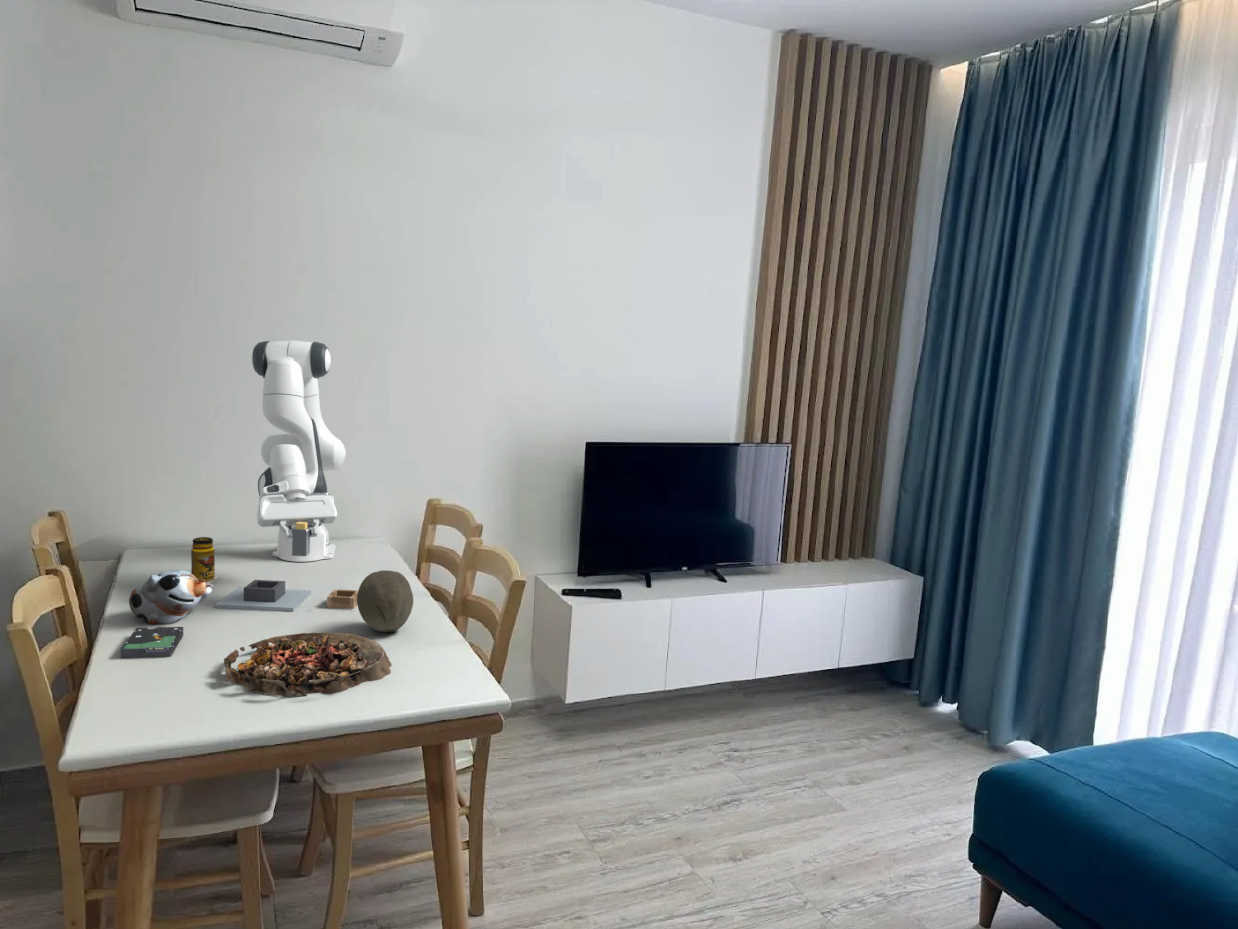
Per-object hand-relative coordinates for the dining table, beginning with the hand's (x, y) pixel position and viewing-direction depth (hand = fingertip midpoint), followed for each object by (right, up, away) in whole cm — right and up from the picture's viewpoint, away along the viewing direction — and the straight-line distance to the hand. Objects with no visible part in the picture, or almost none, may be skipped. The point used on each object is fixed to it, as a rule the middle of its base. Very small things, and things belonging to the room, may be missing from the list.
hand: (301, 536), depth 245 cm
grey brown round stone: (+25, -23, -12) cm, 36 cm away
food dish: (+16, -27, -40) cm, 51 cm away
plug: (0, -5, +1) cm, 5 cm away
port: (-12, -18, +5) cm, 22 cm away
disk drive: (-23, -23, -32) cm, 46 cm away
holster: (+9, -19, +6) cm, 22 cm away
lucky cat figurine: (-28, -19, -12) cm, 36 cm away
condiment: (-36, -14, +21) cm, 44 cm away
